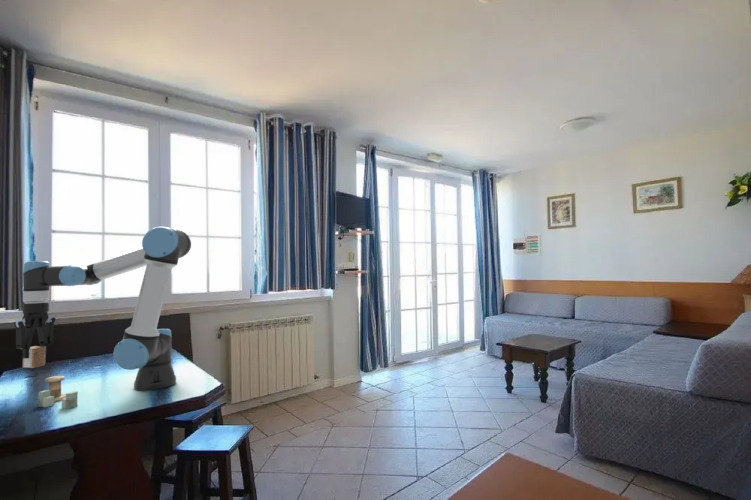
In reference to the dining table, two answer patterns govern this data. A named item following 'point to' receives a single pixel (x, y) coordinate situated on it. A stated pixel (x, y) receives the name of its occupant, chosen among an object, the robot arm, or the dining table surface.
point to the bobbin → (56, 387)
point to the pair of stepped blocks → (48, 400)
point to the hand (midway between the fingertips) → (34, 365)
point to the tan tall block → (37, 356)
